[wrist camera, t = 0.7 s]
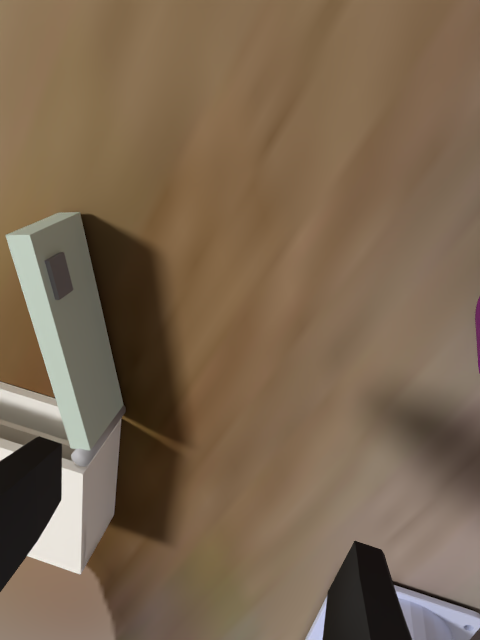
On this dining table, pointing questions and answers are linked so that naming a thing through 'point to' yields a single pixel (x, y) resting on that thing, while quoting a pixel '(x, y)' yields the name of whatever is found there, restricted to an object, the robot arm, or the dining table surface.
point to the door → (69, 328)
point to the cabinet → (63, 478)
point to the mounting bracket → (478, 330)
